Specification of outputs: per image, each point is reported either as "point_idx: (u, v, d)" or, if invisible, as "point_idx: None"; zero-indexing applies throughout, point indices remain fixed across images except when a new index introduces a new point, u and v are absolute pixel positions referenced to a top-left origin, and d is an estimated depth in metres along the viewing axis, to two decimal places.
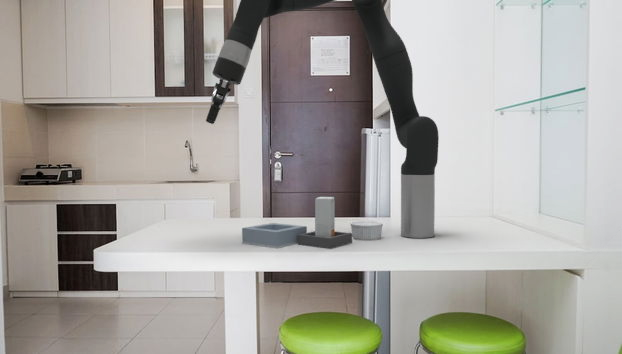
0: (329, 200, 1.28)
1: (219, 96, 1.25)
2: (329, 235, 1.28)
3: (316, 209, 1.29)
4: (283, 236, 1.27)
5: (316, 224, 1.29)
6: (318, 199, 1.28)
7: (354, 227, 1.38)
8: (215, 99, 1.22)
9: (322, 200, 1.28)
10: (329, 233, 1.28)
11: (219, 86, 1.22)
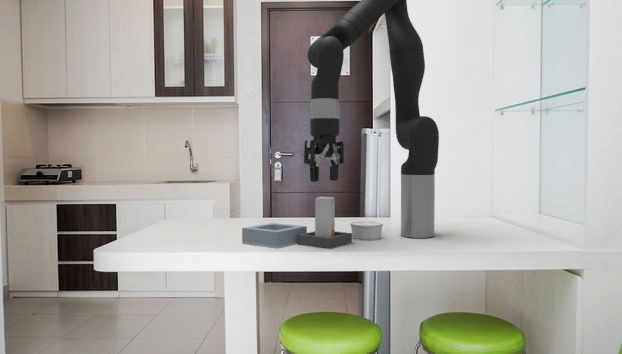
0: (329, 200, 1.28)
1: (315, 156, 1.27)
2: (329, 235, 1.28)
3: (316, 209, 1.29)
4: (283, 236, 1.27)
5: (316, 224, 1.29)
6: (318, 199, 1.28)
7: (354, 227, 1.38)
8: (305, 161, 1.25)
9: (322, 200, 1.28)
10: (329, 233, 1.28)
11: (305, 148, 1.25)
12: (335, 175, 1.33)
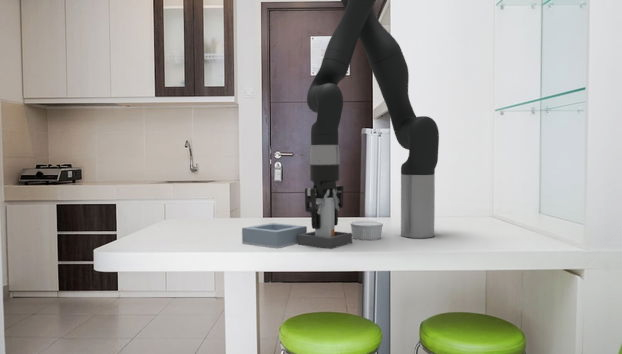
0: (329, 200, 1.28)
1: (316, 203, 1.28)
2: (329, 235, 1.28)
3: None
4: (283, 236, 1.27)
5: None
6: (318, 199, 1.28)
7: (354, 227, 1.38)
8: (307, 209, 1.26)
9: None
10: (329, 233, 1.28)
11: (306, 196, 1.26)
12: None
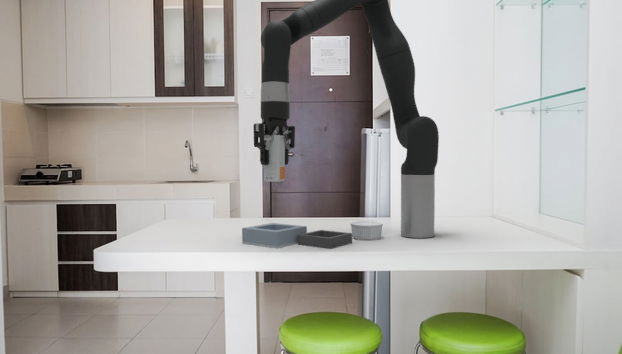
0: (278, 136, 1.29)
1: (265, 139, 1.29)
2: (277, 171, 1.29)
3: None
4: (283, 236, 1.27)
5: None
6: (267, 135, 1.30)
7: (354, 227, 1.38)
8: (255, 145, 1.27)
9: None
10: (277, 169, 1.29)
11: (254, 132, 1.27)
12: (285, 159, 1.35)
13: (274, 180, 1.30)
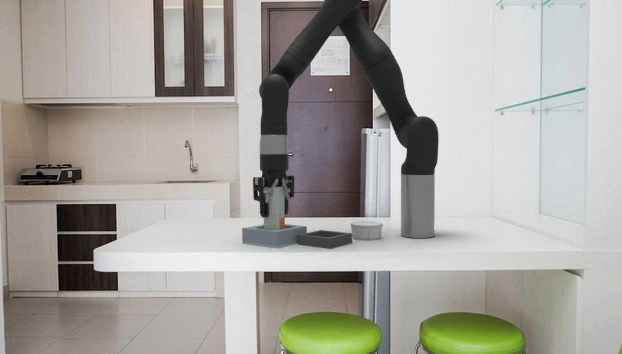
0: (277, 189, 1.30)
1: (264, 192, 1.30)
2: (277, 223, 1.30)
3: None
4: (283, 236, 1.27)
5: None
6: (267, 188, 1.31)
7: (354, 227, 1.38)
8: (255, 198, 1.28)
9: None
10: (277, 221, 1.30)
11: (254, 185, 1.28)
12: (285, 209, 1.36)
13: None
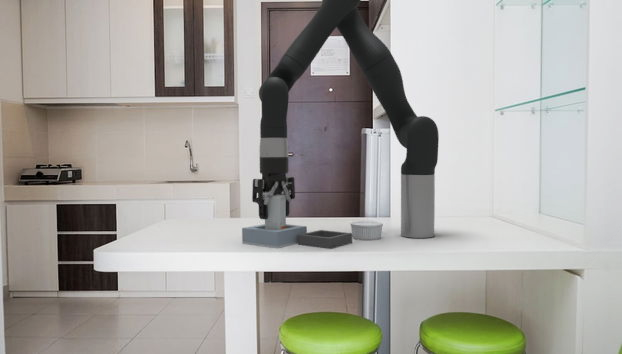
0: (278, 197, 1.30)
1: (264, 194, 1.30)
2: None
3: None
4: (283, 236, 1.27)
5: (266, 221, 1.31)
6: None
7: (354, 227, 1.38)
8: (253, 200, 1.28)
9: (271, 197, 1.31)
10: None
11: (253, 187, 1.28)
12: (286, 211, 1.36)
13: None
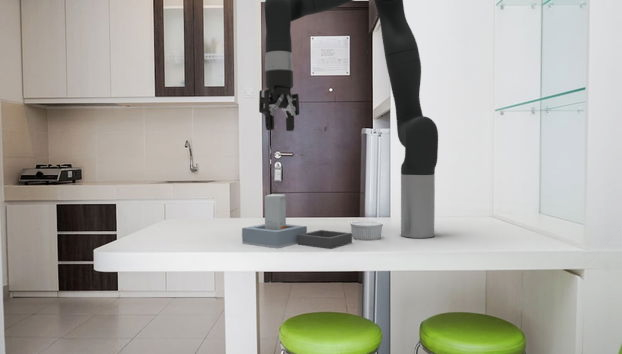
0: (278, 197, 1.30)
1: (270, 105, 1.35)
2: None
3: (266, 206, 1.31)
4: (283, 236, 1.27)
5: (266, 221, 1.31)
6: (268, 196, 1.31)
7: (354, 227, 1.38)
8: (260, 110, 1.33)
9: (271, 197, 1.31)
10: None
11: (260, 98, 1.33)
12: (291, 125, 1.41)
13: None
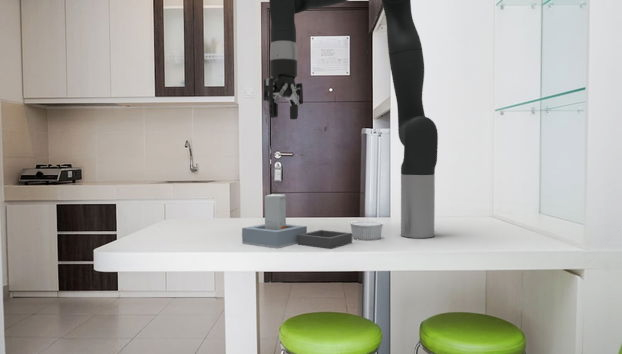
0: (278, 197, 1.30)
1: (274, 94, 1.39)
2: None
3: (266, 206, 1.31)
4: (283, 236, 1.27)
5: (266, 221, 1.31)
6: (268, 196, 1.31)
7: (354, 227, 1.38)
8: (265, 98, 1.37)
9: (271, 197, 1.31)
10: None
11: (264, 86, 1.37)
12: (294, 114, 1.45)
13: None
